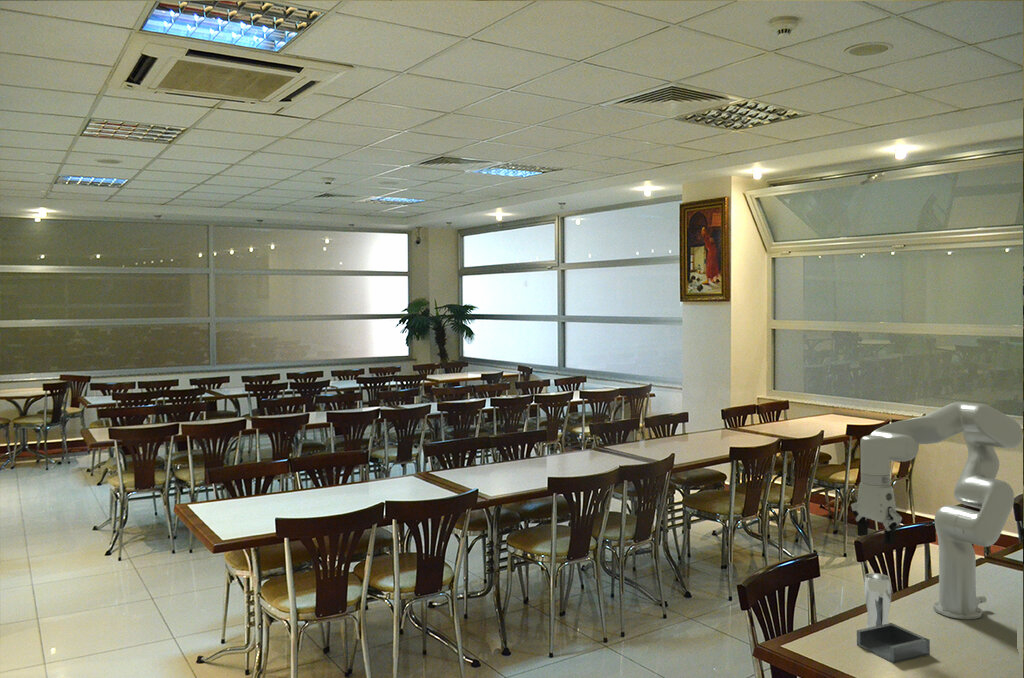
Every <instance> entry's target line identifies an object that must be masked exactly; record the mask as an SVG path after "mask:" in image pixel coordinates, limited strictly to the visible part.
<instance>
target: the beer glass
mask: <svg viewBox="0 0 1024 678" xmlns="http://www.w3.org/2000/svg"><path fill="white" fill-rule="evenodd" d="M863 585H864V586H863V591H864V599H865V605H866V610H867V620H866V626H865V627H866V628H870V627H875V626H880V625H884V624H889V613H890V607H891V602H892V583H891V577H890V576H889V575H886V574H883V573H878V572H876V573H875V572H871V573H869V572H868V573H866V574H865V575H864V583H863Z"/></svg>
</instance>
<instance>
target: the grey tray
mask: <svg viewBox="0 0 1024 678" xmlns="http://www.w3.org/2000/svg"><path fill="white" fill-rule="evenodd" d="M856 645H857V646H858V647H860V648H862V649H864V650H867V651H868V652H871V653H872V654H875V655H876V656H878V657H881V658H883V659H884V660H886V661H888V662H890V663H892V664H897V663H901V662H905V661H909V660H914V659H918V658H923V657H927V656H930V655H931V650H930V649H931V646H930V645H931V642H930V639H928V638H926V637H925V636H922V635H920V634H917V633H915V632H914V631H911V630H909V629H906V628H904V627H902V626H900V625H897V624H895V623H893V622H890V623H889V624H884V625H880V626H875V627H870V628H867V627H866V628H862V629H857V630H856Z"/></svg>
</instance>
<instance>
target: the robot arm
mask: <svg viewBox="0 0 1024 678" xmlns="http://www.w3.org/2000/svg"><path fill="white" fill-rule="evenodd" d="M1022 430H1023V428H1022V425H1020V423H1019V422H1017V421H1016V420H1015V419H1013V418H1012V417H1010V416H1008V415H1006V414H1005V413H1003V412H1002V411H999V410H998V409H996V408H994V407H993V406H990V405H988V404H984V403H976V402H966V401H965V402H964V401H955V402H952V403H949V404H947V405H945V406H942V407H941V408H938V409H936V410H934V411H932V412H930V413H927V414H926V415H922V416H918V417H913V418H909V419H903V420H898V421H894V422H891V423H888V424H885V425H883V426H881V427H879V428H877V429H875V430H873V431H872V432H871V433H870V434H869V435H865V436H862V437H861V438H860V448H859V449H860V482H859V485H858V490H857V492H858V493H857V501H856V502H853V503H851V504H850V507H851V510H852V514H853V516H854V517H855V521H856V522H857V524H856V525H857V536H859V537H862V536H863V537H864V536H868V535H869V534H868V532H869V528H868V527H869V526H868V523H869V522H868V520H871V521H875V522H878V523H882V525H883V526H884V529H885V530H883V531H884V534H883V535H884V537H883V539H884V542H883V543H884V545H886V546H889V545H890V546H891V545H894V544H895V543H896V538H895V537H896V532H895V531H896V530H898V528H899V527H900V525H901V522H902V520H903V517H902V516H901V515H900V514H899V513H898V512H897V507H896V499H895V492H894V487H893V486H892V485H891V484H892V482H893V481H892V479H891V469H890V468H891V466H890V465H891V463H890V462H908V461H911V460H913V459H915V458H916V457H917V455H918V453H919V449H920V448H919V445H933V444H938V443H942V442H943V441H945V440H948V439H950V438H951V437H954V436H955V435H958V434H960V433H962V435H963V438H964V441H965V444H966V447H967V454H968V455H967V460H966V462H965V464H964V466H963V469H962V471H961V473H960V476H959V478H958V480H957V482H956V484H955V486H954V490H953V496H954V499H955V500H956V501H957V502H958V503H960V504H962V505H965V506H966V507H967V506H968V507H972V508H975V509H979V511H978V510H974V509H971V508H968V507H967V508H966V507H962V506H958V505H951V504H949V505H944V506H941V507H940V508H939V509H937V511H936V513H935V514H934V527H935V531H936V536H937V541H938V584H939V585H938V588H939V589H938V593H939V594H938V595H939V597H938V599H939V600H938V601H936V602H934V603H933V610H934V611H935V612H936V613H938V614H940V615H942V616H945V617H947V618H948V617H949V618H954V619H959V620H975V619H979V618H981V617H982V616H983V610H982V609H981V608H979V605H980V604H984V603H986V602H987V597H986V596H984V595H980V596H977V591H976V590H977V589H976V588H977V587H976V585H977V581H976V578H977V577H976V572H977V571H976V570H977V568H976V567H977V566H976V565H977V563H976V560H977V559H976V552H975V549H974V546H973V545H975V546H980V547H986V548H987V547H991V546H993V545H994V544H995V543H996V542H997V541H998V539H1000V536H1001V534H1002V532H1003V529H1004V527H1005V525H1006V523H1007V520H1008V518H1009V516H1010V514H1011V512H1012V510H1013V507H1014V504H1015V492H1014V490H1013V487H1012V486H1011V485H1010V484H1009V483H1008V482H1006V481H1004V480H1001V479H997V478H996V477H997V475H998V472H999V471H1000V459H999V457H998V454H997V452H996V450H995V448H999V449H1000V448H1001V449H1008V450H1009V449H1014V448H1017V447H1018V446H1020V445H1021V443H1022V442H1023V439H1022ZM994 447H995V448H994ZM867 519H868V520H867Z"/></svg>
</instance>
